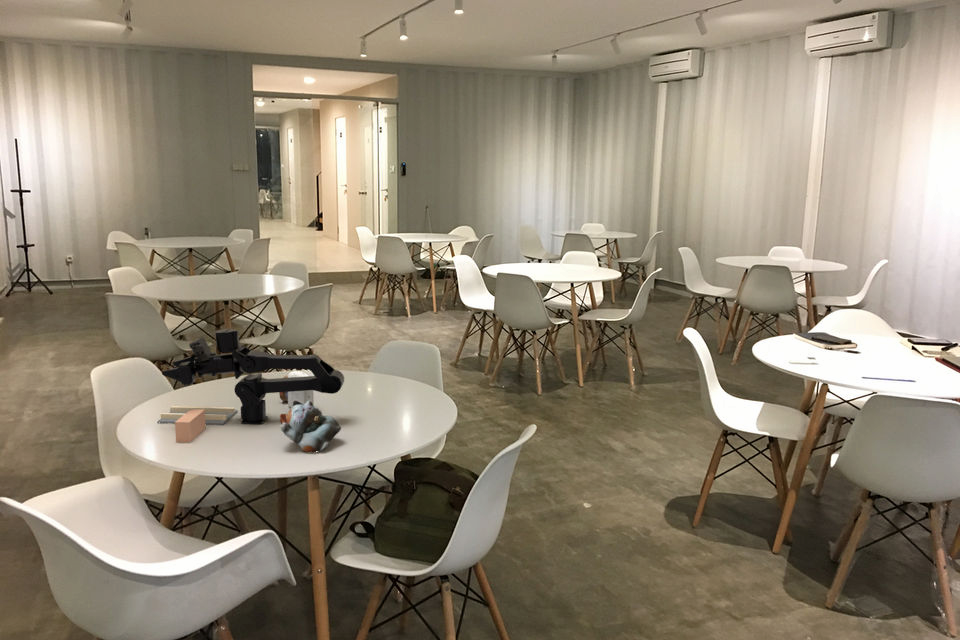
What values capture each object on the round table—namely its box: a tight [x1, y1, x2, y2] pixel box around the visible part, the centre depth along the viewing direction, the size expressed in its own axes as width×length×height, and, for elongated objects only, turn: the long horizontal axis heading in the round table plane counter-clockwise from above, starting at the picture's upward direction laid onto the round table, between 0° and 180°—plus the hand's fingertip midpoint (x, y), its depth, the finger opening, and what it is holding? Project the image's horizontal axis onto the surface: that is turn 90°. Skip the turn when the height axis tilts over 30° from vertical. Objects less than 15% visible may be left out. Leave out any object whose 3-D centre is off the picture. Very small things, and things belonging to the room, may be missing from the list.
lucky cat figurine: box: [279, 401, 342, 454], centre depth 213 cm, size 15×12×14 cm
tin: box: [278, 373, 289, 402], centre depth 257 cm, size 15×3×8 cm, turn 168°
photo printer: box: [287, 370, 314, 408], centre depth 245 cm, size 10×4×12 cm, turn 47°
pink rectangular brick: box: [174, 409, 207, 443], centre depth 220 cm, size 4×12×6 cm, turn 0°
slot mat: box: [157, 405, 239, 426], centre depth 236 cm, size 20×13×2 cm, turn 89°
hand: (167, 368), depth 230 cm, fingers open, 9 cm apart
